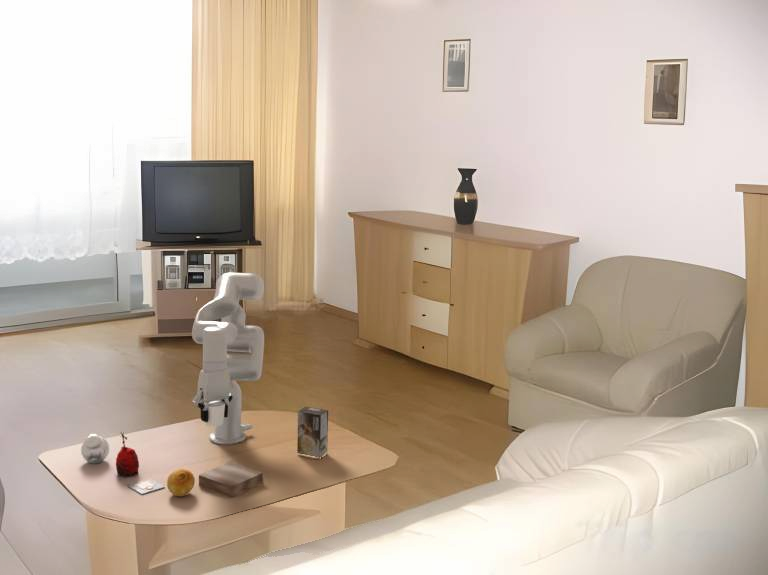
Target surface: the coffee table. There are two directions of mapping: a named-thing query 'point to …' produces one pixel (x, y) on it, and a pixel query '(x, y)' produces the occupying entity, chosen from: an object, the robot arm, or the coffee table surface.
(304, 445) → the coffee box
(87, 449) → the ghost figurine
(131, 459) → the red clay folk toy
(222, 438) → the robot arm
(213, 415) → the shot glass
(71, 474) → the coffee table surface
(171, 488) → the fruit
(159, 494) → the coffee table surface
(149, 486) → the card
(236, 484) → the walnut block
